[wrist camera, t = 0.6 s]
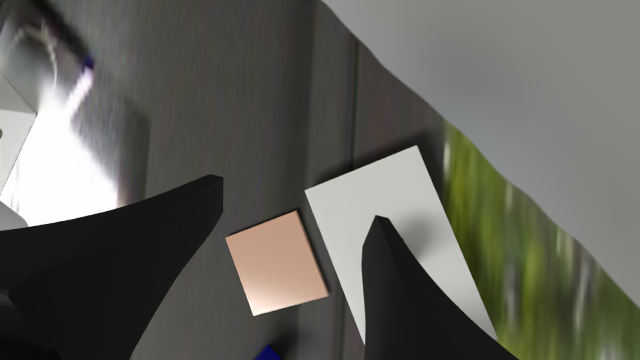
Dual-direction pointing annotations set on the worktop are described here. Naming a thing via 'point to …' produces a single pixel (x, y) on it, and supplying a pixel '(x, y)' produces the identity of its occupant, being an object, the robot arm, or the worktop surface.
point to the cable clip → (267, 354)
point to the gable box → (12, 127)
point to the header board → (407, 217)
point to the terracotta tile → (277, 264)
